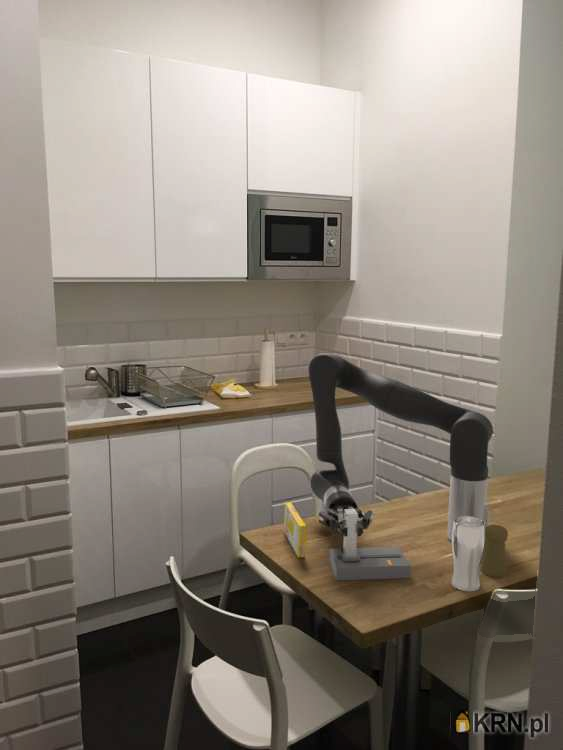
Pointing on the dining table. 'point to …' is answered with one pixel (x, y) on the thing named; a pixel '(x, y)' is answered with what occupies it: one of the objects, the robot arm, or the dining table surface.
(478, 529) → the beer glass
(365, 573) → the fader console
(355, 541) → the slider tab
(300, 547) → the candy box
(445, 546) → the dining table surface
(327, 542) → the dining table surface
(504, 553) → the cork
